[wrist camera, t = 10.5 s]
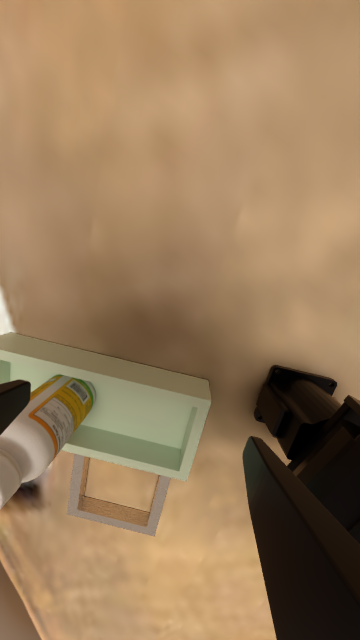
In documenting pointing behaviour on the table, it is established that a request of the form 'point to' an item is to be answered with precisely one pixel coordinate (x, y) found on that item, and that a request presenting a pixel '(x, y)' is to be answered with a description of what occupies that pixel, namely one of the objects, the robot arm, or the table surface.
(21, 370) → the trough
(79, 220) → the table surface
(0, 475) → the supplement bottle
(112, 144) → the table surface
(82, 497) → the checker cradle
